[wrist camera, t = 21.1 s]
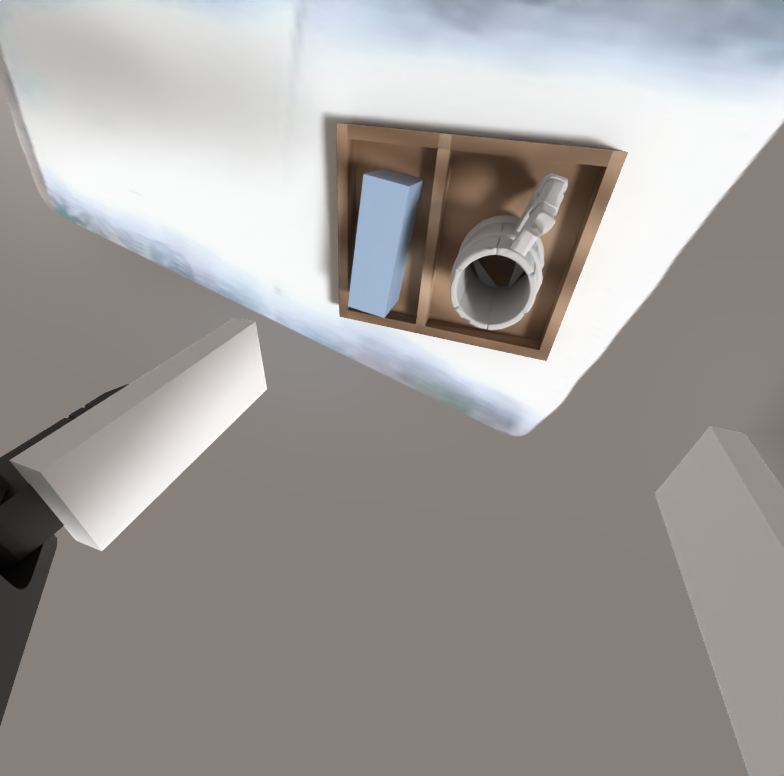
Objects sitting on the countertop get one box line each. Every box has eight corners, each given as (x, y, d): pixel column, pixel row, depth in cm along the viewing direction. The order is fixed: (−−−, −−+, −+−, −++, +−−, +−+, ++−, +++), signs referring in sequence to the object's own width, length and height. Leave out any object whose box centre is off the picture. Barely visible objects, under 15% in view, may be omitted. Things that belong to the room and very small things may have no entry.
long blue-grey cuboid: (383, 168, 34) (363, 173, 30) (424, 179, 33) (409, 186, 29) (365, 289, 41) (347, 306, 37) (398, 299, 40) (384, 318, 37)
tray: (348, 123, 33) (336, 123, 31) (621, 150, 28) (627, 152, 26) (348, 308, 44) (339, 316, 42) (545, 349, 39) (546, 360, 37)
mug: (446, 271, 37) (417, 318, 28) (516, 144, 30) (509, 152, 20) (510, 308, 37) (503, 368, 28) (597, 191, 30) (626, 220, 20)
